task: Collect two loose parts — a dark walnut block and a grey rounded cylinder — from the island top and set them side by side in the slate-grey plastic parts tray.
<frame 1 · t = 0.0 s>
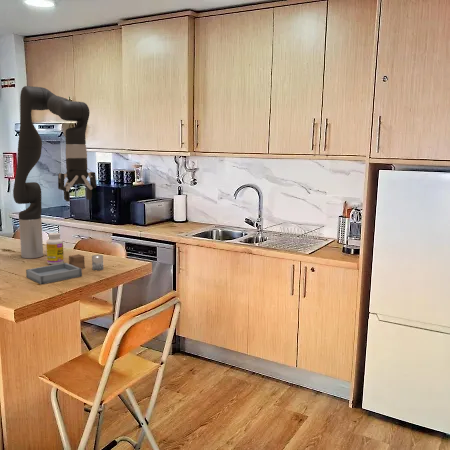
hand: (78, 200, 179), 29 cm above the worktop, tool pointing down, fingers open, 8 cm apart
grey rounded cylinder: (97, 269, 194), on the worktop
walnut block: (77, 267, 196), on the worktop
supplement bottle: (55, 263, 203), on the worktop
parts tray: (54, 276, 182), on the worktop
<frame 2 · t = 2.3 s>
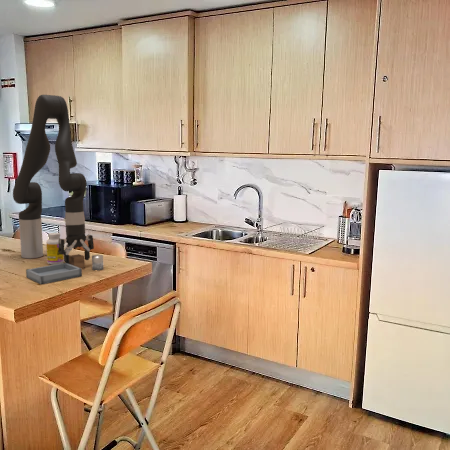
hand: (77, 261, 195), 2 cm above the worktop, tool pointing down, fingers open, 8 cm apart
nothing on the worktop moved.
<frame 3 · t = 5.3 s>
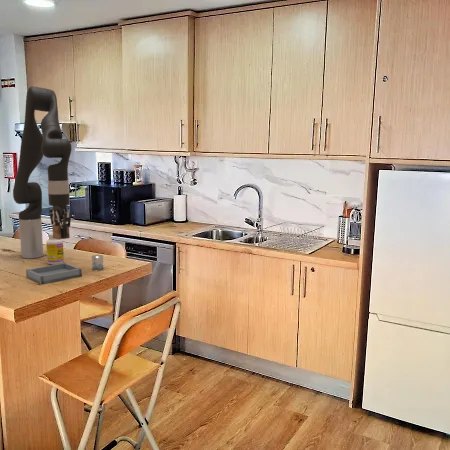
hand: (61, 236, 182), 15 cm above the worktop, tool pointing down, fingers closed on walnut block, 4 cm apart
walnut block: (61, 238, 182), point 15 cm above the worktop, touching gripper
everything else where it was.
when the fingers open (3 cm above the worktop, at t = 7.5 s): walnut block drops 1 cm, resting on parts tray.
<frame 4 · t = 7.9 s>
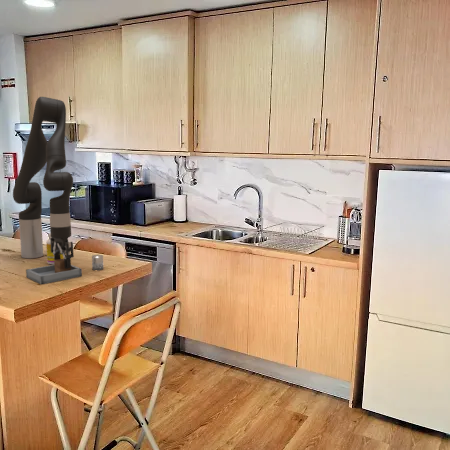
hand: (62, 266, 184), 4 cm above the worktop, tool pointing down, fingers open, 8 cm apart
walnut block: (63, 272, 184), point 1 cm above the worktop, touching parts tray
everything else where it was.
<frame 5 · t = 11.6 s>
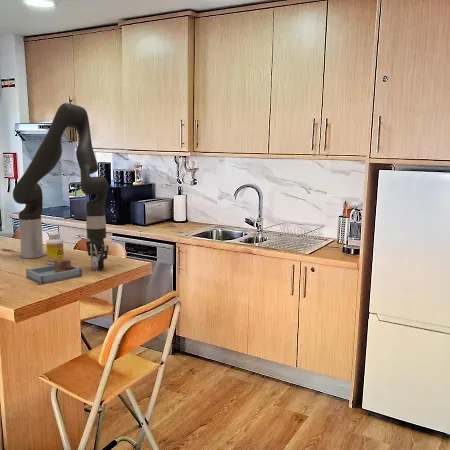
hand: (97, 267, 194), 1 cm above the worktop, tool pointing down, fingers closed on grey rounded cylinder, 4 cm apart
grey rounded cylinder: (97, 269, 194), on the worktop, touching gripper
everything else where it was.
when the fingers open (3 cm above the worktop, at t = 16.4 s): grey rounded cylinder drops 1 cm, resting on parts tray.
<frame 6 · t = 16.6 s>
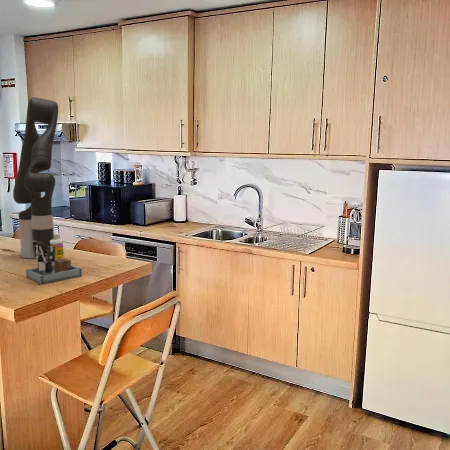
hand: (45, 270, 179), 3 cm above the worktop, tool pointing down, fingers open, 6 cm apart
grey rounded cylinder: (45, 276, 179), point 1 cm above the worktop, touching parts tray
everything else where it was.
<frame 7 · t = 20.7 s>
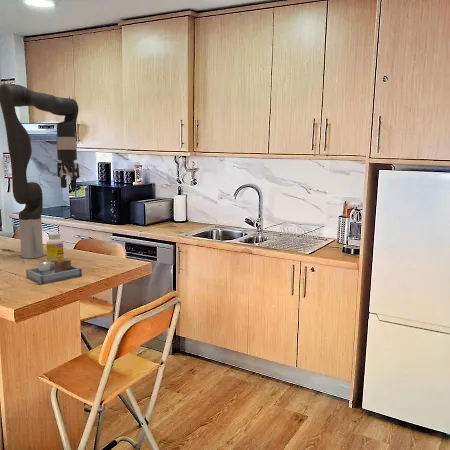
hand: (68, 188, 195), 32 cm above the worktop, tool pointing down, fingers open, 8 cm apart
nothing on the worktop moved.
at the end: walnut block inside the target area on the parts tray (3.5 cm from its centre), point 1.0 cm above the parts tray's base; grey rounded cylinder inside the target area on the parts tray (3.5 cm from its centre), point 1.0 cm above the parts tray's base; the gripper is holding nothing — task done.
